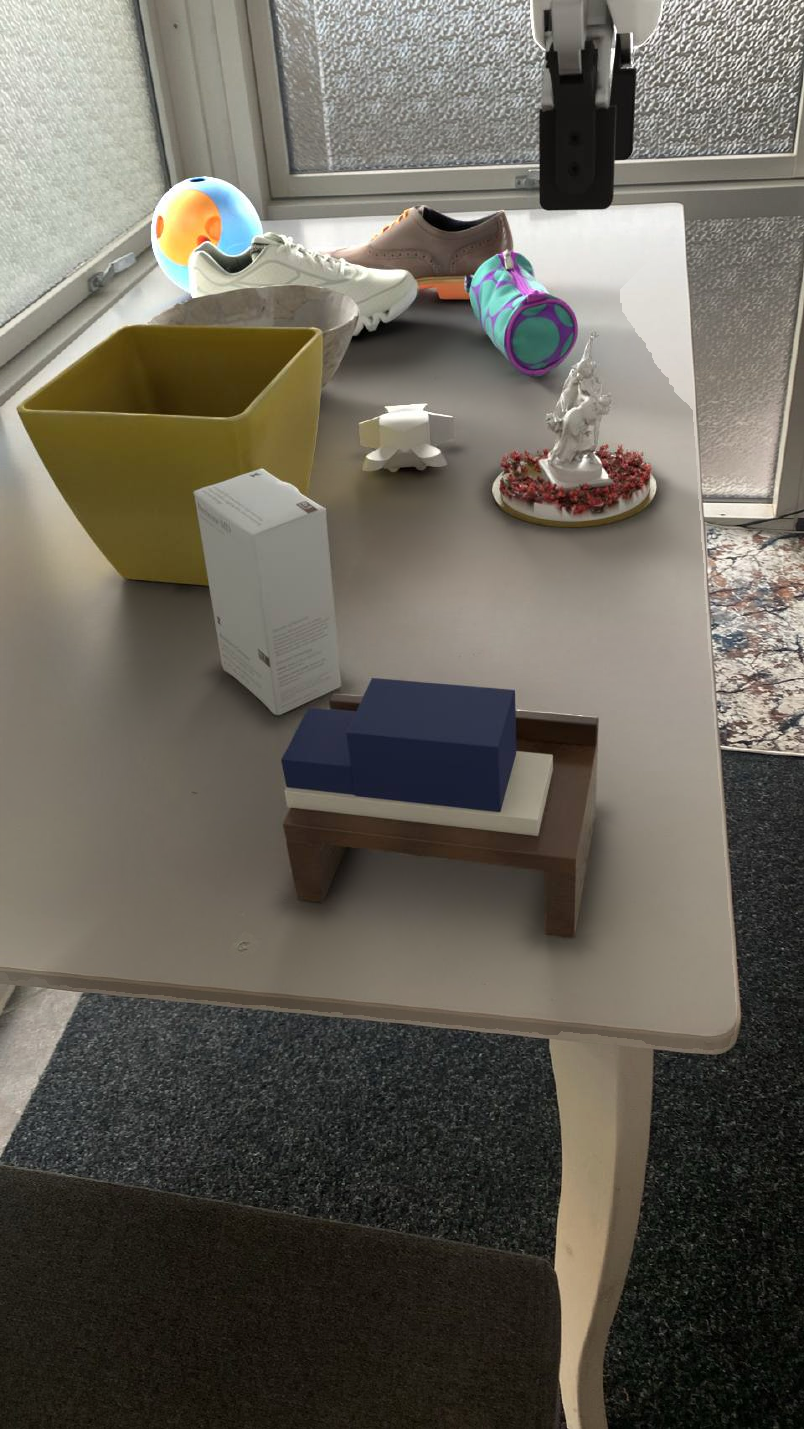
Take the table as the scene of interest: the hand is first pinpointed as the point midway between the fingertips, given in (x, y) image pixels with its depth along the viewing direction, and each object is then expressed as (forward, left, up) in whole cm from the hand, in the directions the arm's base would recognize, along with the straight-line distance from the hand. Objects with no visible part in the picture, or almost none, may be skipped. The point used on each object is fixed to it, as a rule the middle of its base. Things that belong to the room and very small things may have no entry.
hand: (589, 182), depth 53 cm
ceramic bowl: (+42, -55, -34) cm, 77 cm away
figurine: (+5, -37, -34) cm, 51 cm away
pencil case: (+16, -73, -34) cm, 82 cm away
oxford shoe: (+36, -96, -34) cm, 108 cm away
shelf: (+6, +12, -34) cm, 37 cm away
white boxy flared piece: (+22, -41, -34) cm, 58 cm away
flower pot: (+35, -22, -34) cm, 54 cm away
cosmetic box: (+22, -4, -34) cm, 41 cm away
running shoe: (+45, -79, -34) cm, 97 cm away
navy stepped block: (+7, +13, -28) cm, 32 cm away
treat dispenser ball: (+64, -95, -34) cm, 120 cm away
